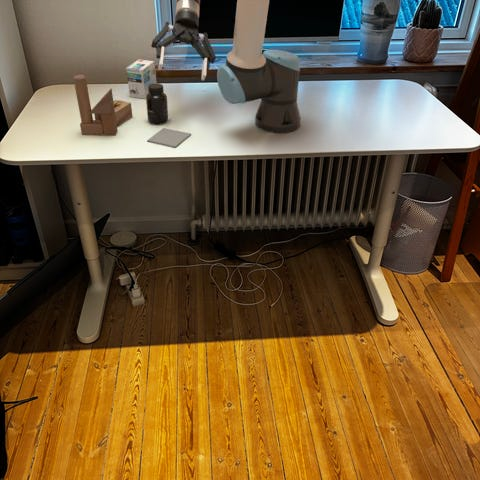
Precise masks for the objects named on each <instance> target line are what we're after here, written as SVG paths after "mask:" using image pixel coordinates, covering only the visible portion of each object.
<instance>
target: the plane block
mask: <svg viewBox="0 0 480 480" xmlns="http://www.w3.org/2000/svg"><path fill="white" fill-rule="evenodd" d="M113 102H114V109H115V110H114V111H115V116H116V123H117V128H118V127H120V126H121V125H123V124H124V123H126V122H127V121H128V120H130V119H132V118H133V116H134V115H133V109H132V102H129V101H124V100H118V99H115V100H113ZM94 120H100V121H101V122H102V118H101V114H94Z"/></svg>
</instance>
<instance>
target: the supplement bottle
mask: <svg viewBox="0 0 480 480" xmlns="http://www.w3.org/2000/svg"><path fill="white" fill-rule="evenodd" d="M148 92H149V93H148V94H147V95H146V99H145V100H146V114H147V121H148V123H150V124H152V125H164V124H166V123H167V122H168V121H169V108H168V96H167V94H166V93H165V91H164V85H163V84H161V83H158V82H156V83H154V84H150V85H149V86H148Z"/></svg>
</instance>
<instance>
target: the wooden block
mask: <svg viewBox="0 0 480 480" xmlns="http://www.w3.org/2000/svg"><path fill="white" fill-rule="evenodd" d="M72 78H73V79H72V80H73V83H74V90H75V95H76V99H77V106H78V111H79V117H80V121H81V122H80V124H79V127H80V132H81V135H93V136H98V135H99V136H116V134H117V133H118V127H117V123H116V116H115V111H114V110H115V109H114V102H113V101H114V98H113V97H114V95H113V89H112V88H110V89H109V90H108V91H107V92H106V93H105V94H104V95H103V96H102V98H100V100H98V102H97V103H96V104H95V106H93V107H92V106H91V100H90V95H89V94H90V93H89V89H88V82H87V76H85V74H78V75H74V76H73V77H72ZM93 114H101V118H102V122H101V121H100V120H95V119H94V116H93Z"/></svg>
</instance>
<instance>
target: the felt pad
mask: <svg viewBox="0 0 480 480" xmlns="http://www.w3.org/2000/svg"><path fill="white" fill-rule="evenodd" d="M191 136H192V133H190V132H186V131H180V130H177V129H171V128H167V127H162V128H161V129H160V130H158V132H156V133H155V134H153V135H152V136H151V137H150V138H148V139H147V140H146V141H147V143H151V144H156V145H160V146H165V147H170V148H174V149H176V148H177V147H178V146H180V145H181V144H182V143H184V142H185V140H187V139H188V138H189V137H191Z"/></svg>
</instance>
